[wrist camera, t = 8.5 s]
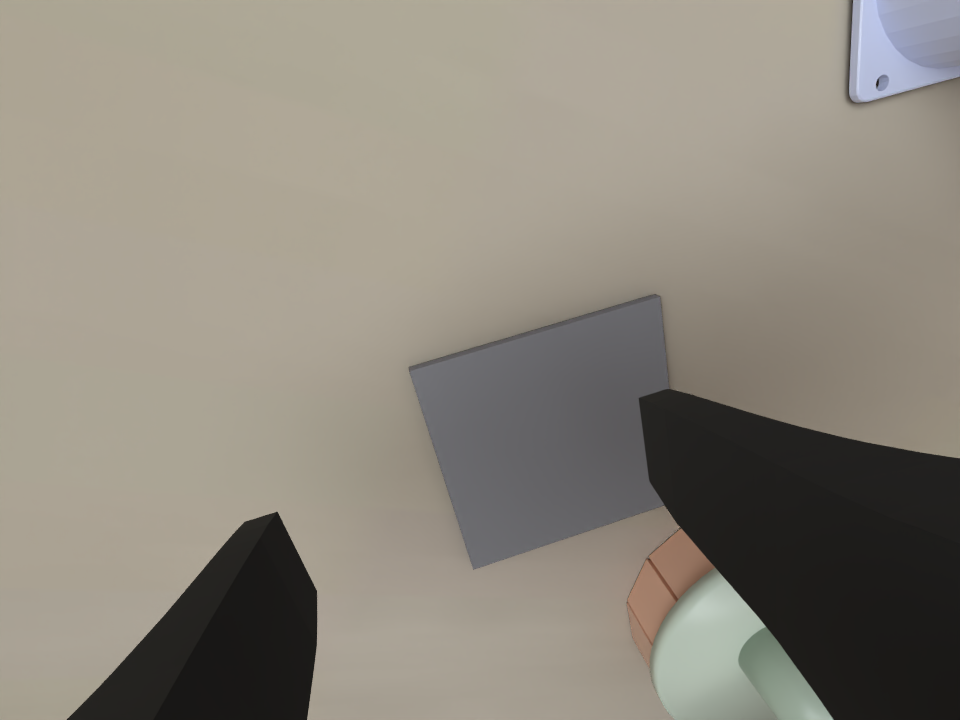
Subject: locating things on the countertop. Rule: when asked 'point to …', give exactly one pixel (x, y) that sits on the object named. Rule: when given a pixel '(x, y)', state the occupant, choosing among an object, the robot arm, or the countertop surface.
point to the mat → (546, 428)
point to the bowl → (663, 587)
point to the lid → (725, 661)
